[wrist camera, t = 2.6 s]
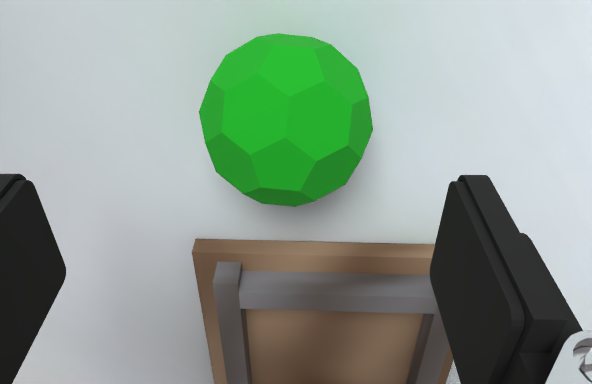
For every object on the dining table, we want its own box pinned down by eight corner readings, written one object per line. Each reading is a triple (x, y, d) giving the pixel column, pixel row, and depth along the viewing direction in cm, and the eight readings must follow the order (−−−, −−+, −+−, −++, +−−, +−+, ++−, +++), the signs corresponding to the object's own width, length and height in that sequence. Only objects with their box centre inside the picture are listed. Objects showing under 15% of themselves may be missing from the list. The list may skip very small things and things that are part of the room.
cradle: (481, 245, 20) (496, 281, 19) (432, 400, 28) (439, 435, 26) (195, 238, 21) (185, 274, 19) (221, 393, 28) (215, 428, 26)
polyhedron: (186, 89, 17) (148, 170, 13) (280, -25, 14) (268, 32, 11) (296, 172, 19) (292, 263, 15) (395, 82, 16) (420, 163, 12)
